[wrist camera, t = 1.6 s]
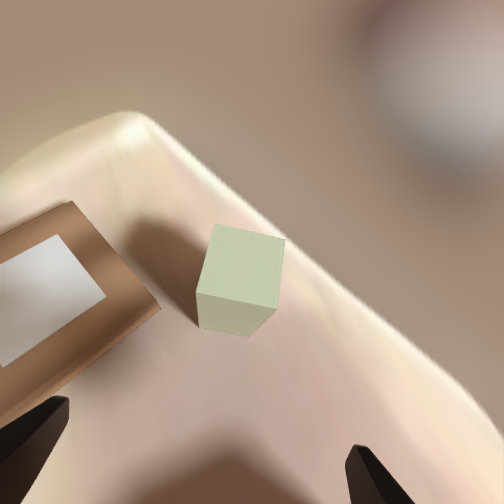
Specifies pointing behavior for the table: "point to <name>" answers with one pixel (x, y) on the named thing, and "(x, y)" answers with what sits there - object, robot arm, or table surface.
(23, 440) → the robot arm
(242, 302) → the sage pillar
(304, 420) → the table surface
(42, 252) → the walnut base plate
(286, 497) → the table surface
